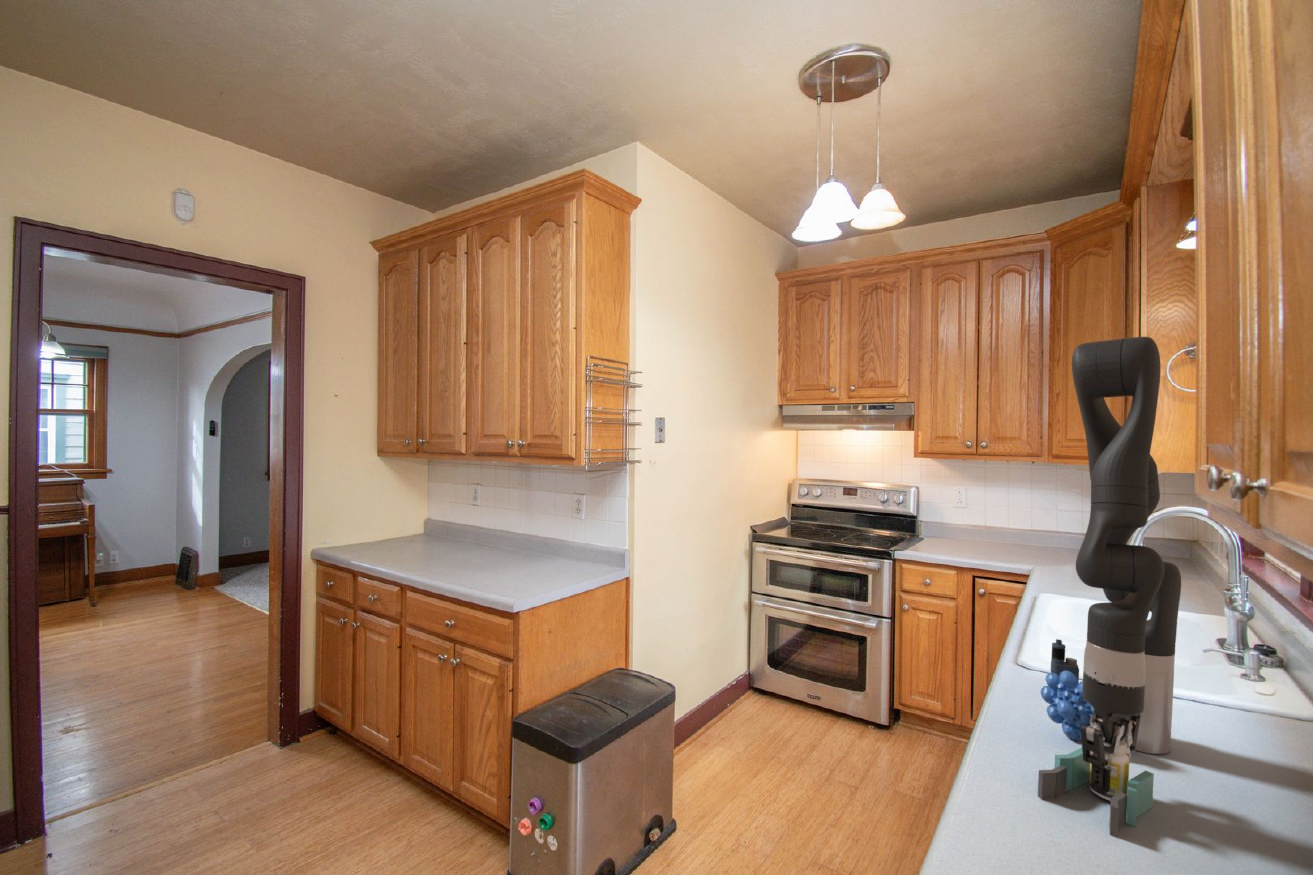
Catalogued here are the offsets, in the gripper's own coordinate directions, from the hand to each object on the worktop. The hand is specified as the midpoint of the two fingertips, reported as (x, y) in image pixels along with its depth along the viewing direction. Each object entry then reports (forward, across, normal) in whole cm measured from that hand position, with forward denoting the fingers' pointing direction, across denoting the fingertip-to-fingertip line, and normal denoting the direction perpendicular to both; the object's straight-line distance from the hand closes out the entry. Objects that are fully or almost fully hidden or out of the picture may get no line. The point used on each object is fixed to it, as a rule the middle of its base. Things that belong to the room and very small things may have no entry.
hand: (1108, 784), depth 92 cm
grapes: (+2, -13, -12) cm, 18 cm away
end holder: (+2, 0, 0) cm, 2 cm away
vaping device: (+2, -32, -22) cm, 39 cm away
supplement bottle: (+2, 0, 0) cm, 2 cm away
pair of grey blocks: (+2, +8, 0) cm, 8 cm away
